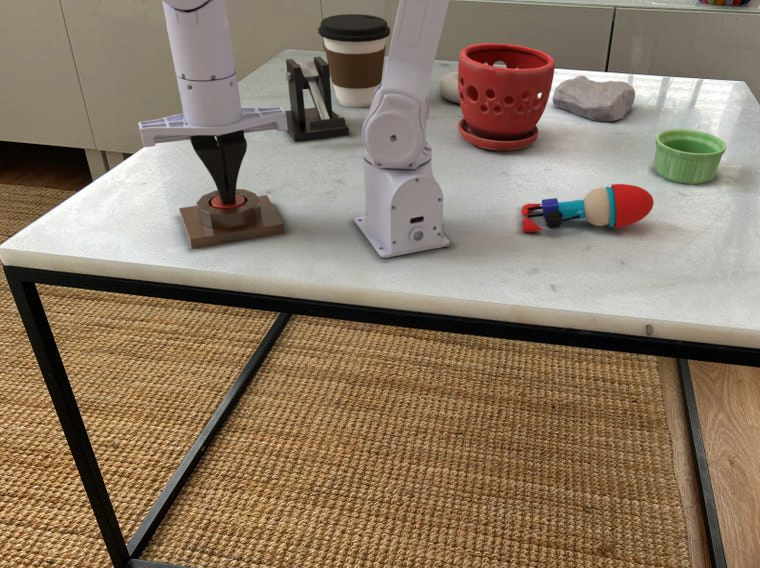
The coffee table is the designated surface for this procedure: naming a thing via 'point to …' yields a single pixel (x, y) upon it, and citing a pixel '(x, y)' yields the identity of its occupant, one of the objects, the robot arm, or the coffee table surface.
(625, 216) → the toy figure
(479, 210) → the coffee table surface
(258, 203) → the button block
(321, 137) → the bracket
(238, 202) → the button
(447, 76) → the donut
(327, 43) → the coffee cup
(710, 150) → the ramekin
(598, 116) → the stone block
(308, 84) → the lever
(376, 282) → the coffee table surface
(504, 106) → the flower pot
